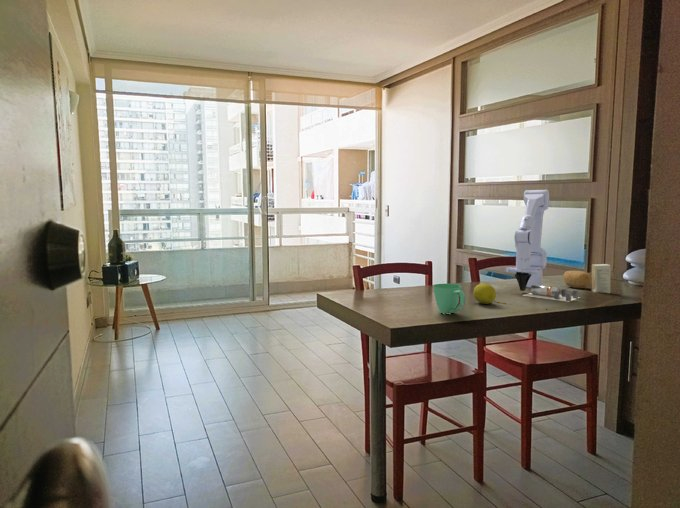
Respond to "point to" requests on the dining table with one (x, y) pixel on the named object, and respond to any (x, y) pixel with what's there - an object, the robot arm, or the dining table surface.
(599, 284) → the skincare box
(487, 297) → the lemon
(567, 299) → the collar
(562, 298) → the board
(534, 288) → the tube
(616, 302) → the dining table surface
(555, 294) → the collar
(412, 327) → the dining table surface
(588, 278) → the potato
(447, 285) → the mug
